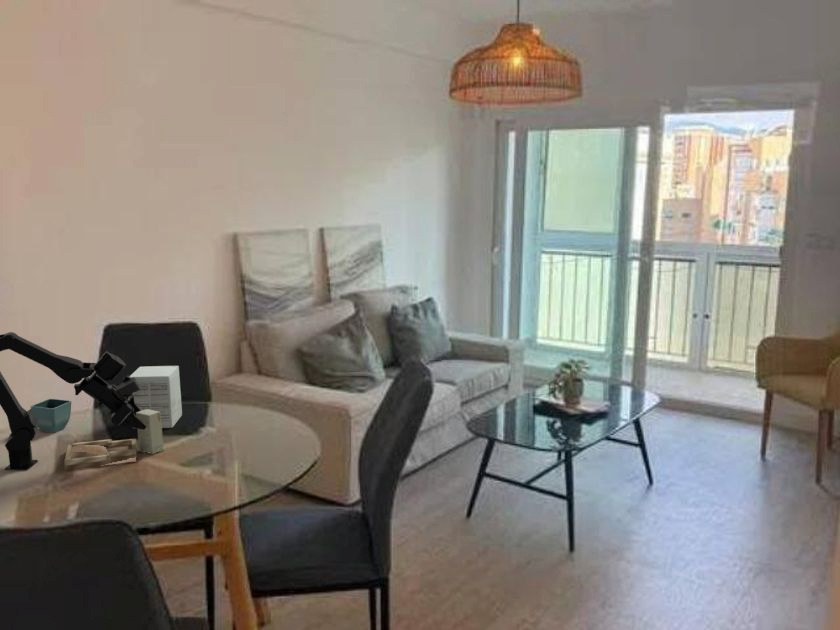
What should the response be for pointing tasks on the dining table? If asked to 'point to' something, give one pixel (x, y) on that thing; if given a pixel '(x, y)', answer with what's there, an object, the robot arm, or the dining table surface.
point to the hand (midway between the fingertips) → (145, 423)
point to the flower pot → (52, 414)
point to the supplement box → (159, 392)
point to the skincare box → (150, 431)
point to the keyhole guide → (88, 460)
